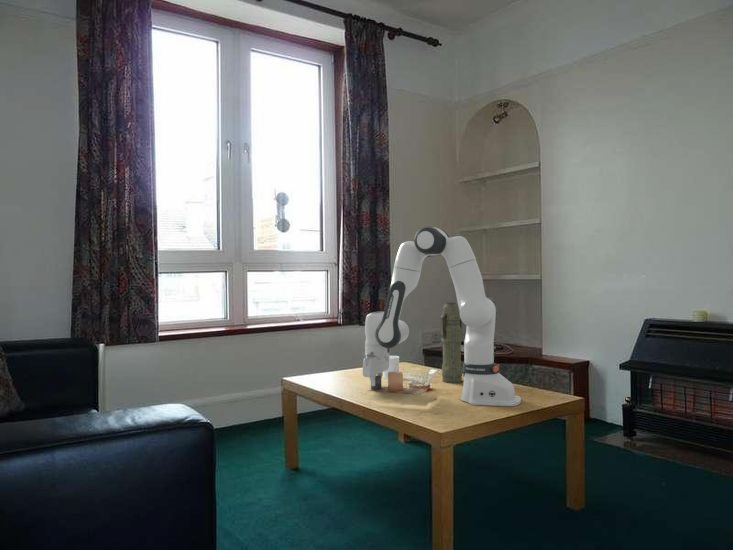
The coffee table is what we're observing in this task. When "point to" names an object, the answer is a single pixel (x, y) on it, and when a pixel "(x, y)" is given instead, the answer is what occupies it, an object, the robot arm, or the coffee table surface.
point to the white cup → (392, 365)
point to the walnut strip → (385, 389)
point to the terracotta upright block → (395, 381)
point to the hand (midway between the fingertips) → (376, 384)
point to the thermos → (451, 343)
